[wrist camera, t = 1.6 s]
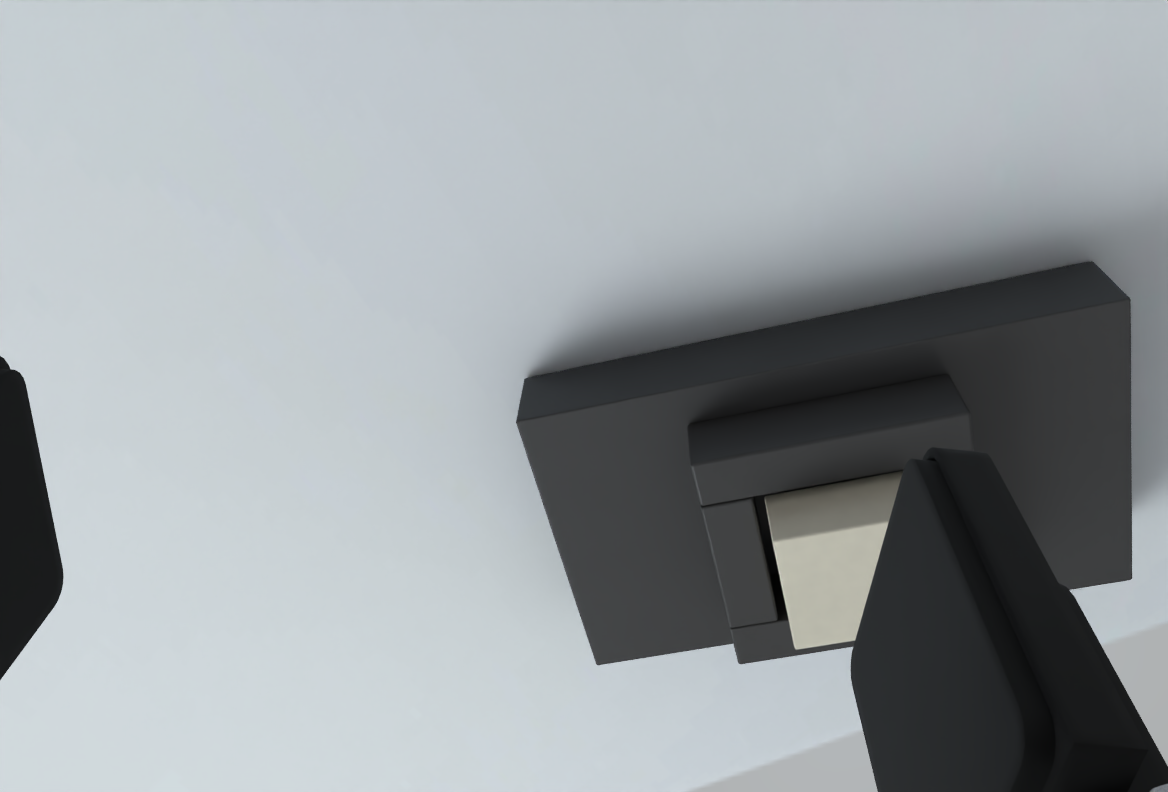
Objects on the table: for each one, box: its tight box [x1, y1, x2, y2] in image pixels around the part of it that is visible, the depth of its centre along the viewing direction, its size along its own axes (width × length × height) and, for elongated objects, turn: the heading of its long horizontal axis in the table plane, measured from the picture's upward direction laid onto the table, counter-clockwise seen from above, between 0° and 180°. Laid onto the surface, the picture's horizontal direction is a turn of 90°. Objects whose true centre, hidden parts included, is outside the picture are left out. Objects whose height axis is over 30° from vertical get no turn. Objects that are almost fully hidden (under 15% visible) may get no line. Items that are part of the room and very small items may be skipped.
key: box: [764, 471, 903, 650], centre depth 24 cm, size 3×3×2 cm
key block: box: [516, 262, 1132, 665], centre depth 26 cm, size 14×8×4 cm, turn 104°
